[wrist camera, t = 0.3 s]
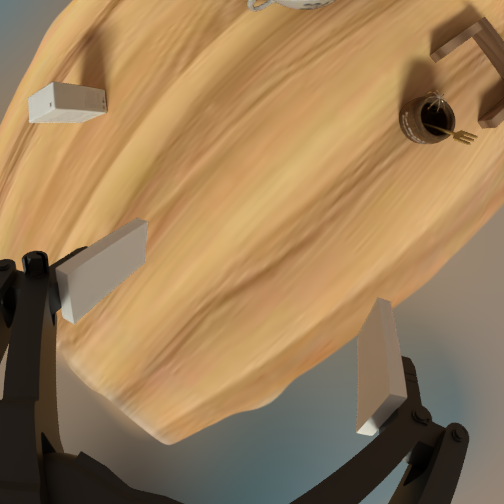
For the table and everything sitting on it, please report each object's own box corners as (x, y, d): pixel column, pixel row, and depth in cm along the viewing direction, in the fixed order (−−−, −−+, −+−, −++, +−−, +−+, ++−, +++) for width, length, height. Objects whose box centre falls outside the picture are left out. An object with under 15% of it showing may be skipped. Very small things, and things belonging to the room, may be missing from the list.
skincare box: (105, 88, 40) (54, 80, 29) (107, 113, 41) (55, 109, 30) (78, 100, 42) (27, 97, 30) (80, 124, 43) (28, 124, 32)
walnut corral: (482, 128, 32) (499, 127, 27) (429, 55, 30) (442, 45, 26) (518, 95, 28) (535, 91, 24) (470, 26, 27) (484, 16, 22)
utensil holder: (417, 92, 33) (453, 74, 22) (446, 129, 33) (489, 125, 22) (388, 117, 35) (417, 105, 24) (418, 154, 35) (456, 158, 24)
